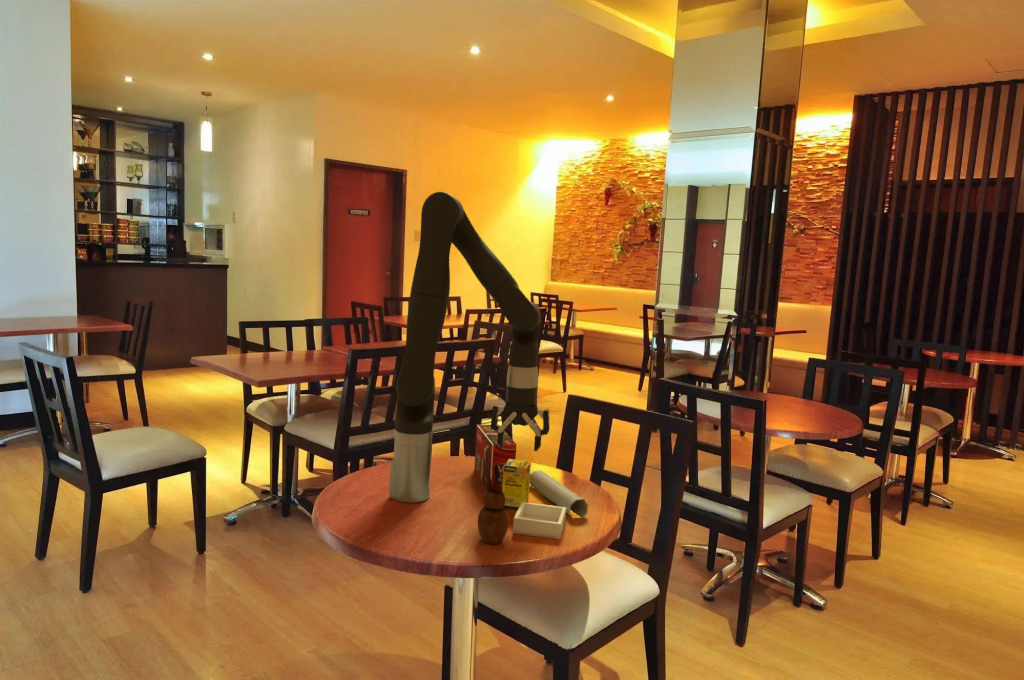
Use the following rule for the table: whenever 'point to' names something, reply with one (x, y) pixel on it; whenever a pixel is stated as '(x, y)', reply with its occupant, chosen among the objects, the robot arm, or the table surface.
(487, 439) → the ice cream box
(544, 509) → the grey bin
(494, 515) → the wooden figurine
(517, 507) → the supplement box
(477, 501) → the table surface
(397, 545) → the table surface
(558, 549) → the table surface
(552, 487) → the tube
